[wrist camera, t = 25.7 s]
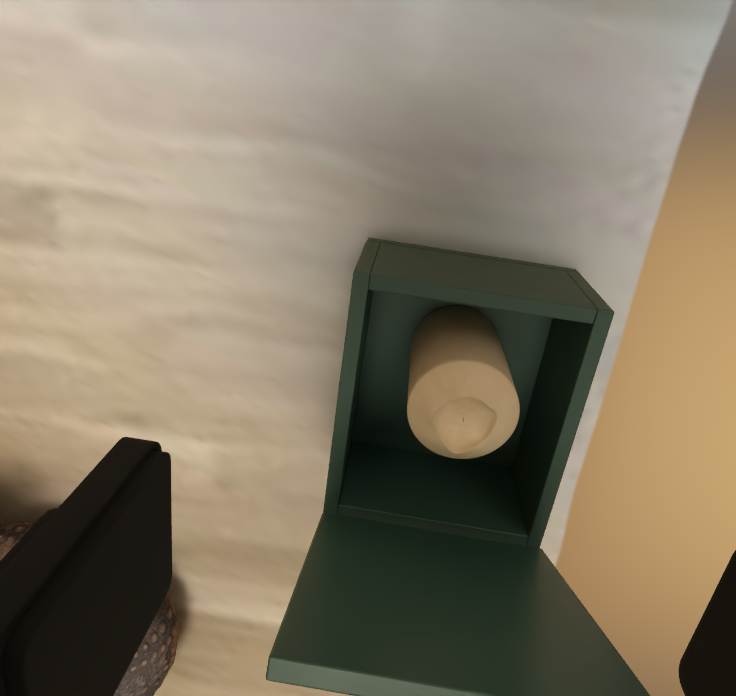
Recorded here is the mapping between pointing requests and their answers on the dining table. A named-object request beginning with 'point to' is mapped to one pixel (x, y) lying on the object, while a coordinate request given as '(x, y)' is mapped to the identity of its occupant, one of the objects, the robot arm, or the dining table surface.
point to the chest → (529, 374)
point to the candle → (460, 385)
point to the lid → (438, 619)
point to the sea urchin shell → (152, 651)
